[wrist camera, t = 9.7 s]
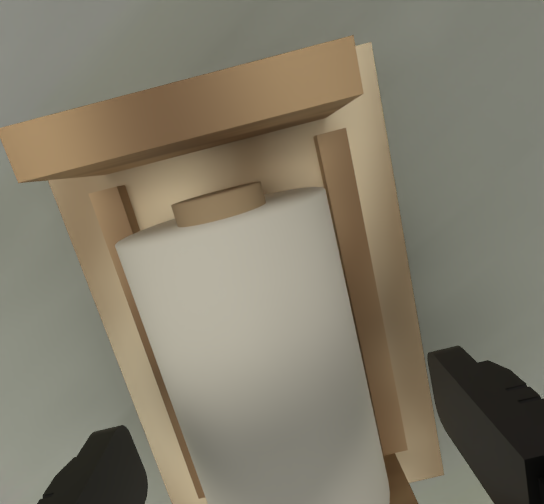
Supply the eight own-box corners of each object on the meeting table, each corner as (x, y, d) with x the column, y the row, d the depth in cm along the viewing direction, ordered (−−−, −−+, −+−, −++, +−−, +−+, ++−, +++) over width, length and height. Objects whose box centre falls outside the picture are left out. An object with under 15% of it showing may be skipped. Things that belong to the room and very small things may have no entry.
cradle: (363, 50, 14) (439, -32, 8) (433, 457, 18) (518, 601, 12) (45, 133, 14) (-107, 114, 8) (188, 515, 18) (155, 681, 12)
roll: (147, 206, 14) (61, 241, 8) (307, 165, 14) (340, 169, 8) (230, 458, 16) (211, 621, 11) (366, 426, 16) (423, 577, 10)
